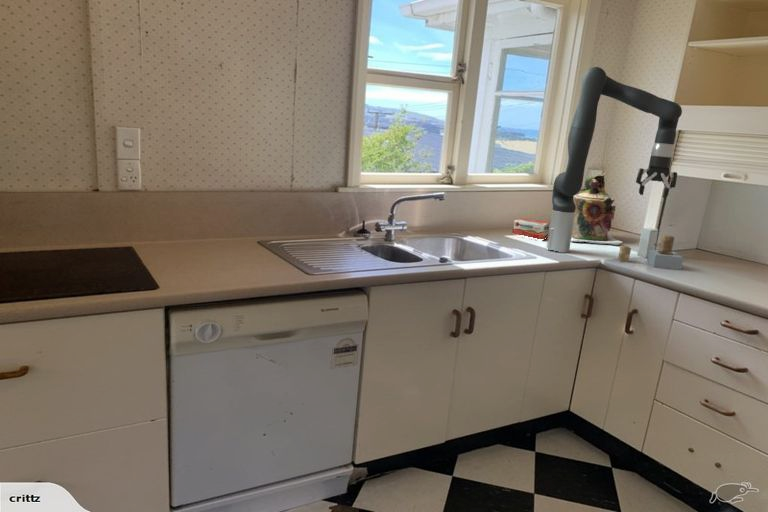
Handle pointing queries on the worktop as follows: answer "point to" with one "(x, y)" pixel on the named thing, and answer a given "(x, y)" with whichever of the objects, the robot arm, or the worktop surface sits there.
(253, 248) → the worktop surface
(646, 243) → the skincare box
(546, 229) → the medicine box
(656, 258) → the socket block
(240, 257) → the worktop surface
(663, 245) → the long pin
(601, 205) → the cookie jar
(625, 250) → the short pin
